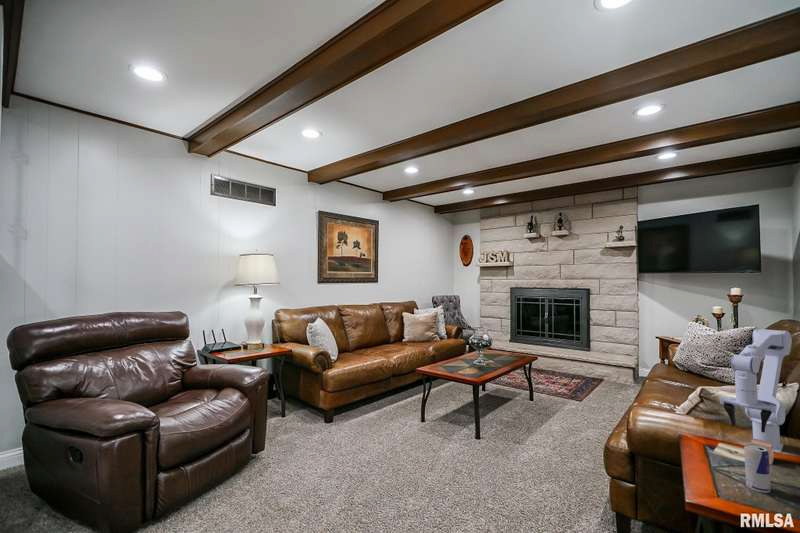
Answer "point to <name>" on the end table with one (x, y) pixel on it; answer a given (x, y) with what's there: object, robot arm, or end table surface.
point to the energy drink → (757, 468)
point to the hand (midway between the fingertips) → (748, 428)
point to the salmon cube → (766, 445)
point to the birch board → (730, 451)
